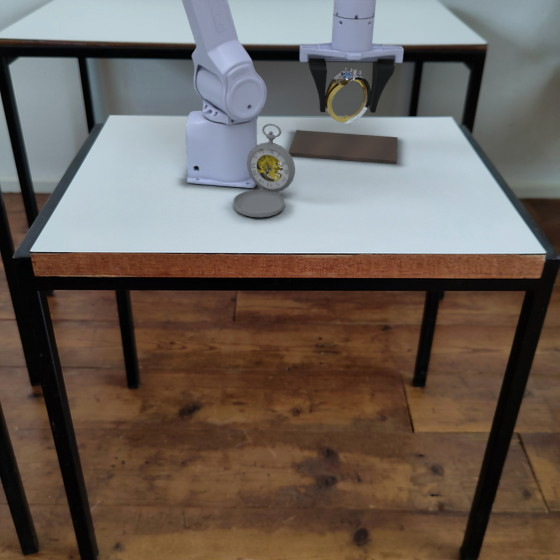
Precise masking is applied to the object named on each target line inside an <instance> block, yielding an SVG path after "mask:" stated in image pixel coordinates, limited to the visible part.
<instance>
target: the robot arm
mask: <svg viewBox="0 0 560 560" xmlns="http://www.w3.org/2000/svg"><path fill="white" fill-rule="evenodd" d="M181 2H182V5H183V8H184V12H185V14H186V18H187V21H188V25H189V27H190V28H189V29H190V31H191V35H192V37H193V40H194V44H195V46H196V47H195V48H194V51H193V52H192V54H191V59H192V63H193V68H194V72H193V79H192V80H193V81H192V82H193V88H194V91H195V93H196V94H197V95H198V96H199V98H201V99H202V110H192V111H190V112H189V113H188V116H187V119H186V125H185V151H186V165H187V166H186V167H187V178H186V182H187V183H189V184H195V185H196V184H198V185H210V186H222V187H235V188H246V189H254V188H255V187H256V186H257V184H256V183H255V182H254V181H253V179H252V178H251V177H250V174H249V172H248V169H247V158H248V155H249V153H250V151H251V150H252V149H253V148H254V147H255V146H257V145H258V119H259V114H260V113H261V111H262V110H263V108H264V106H265V104H266V101H267V95H268V89H267V85H266V82H265V81H264V80H263V78H262V77H261V76H260V75H259V74H258V73H257V71H256V69H255V67H254V63H253V59H252V58H251V57H250V55H249V53H248V52H247V50H246V49H245V47H244V46H243V45H242V43H241V41H240V40H239V36H238V33H237V29H236V26H235V22H234V19H233V15H232V11H231V8H230V4H229V0H181ZM376 6H377V0H333V10H332V28H331V42H324V43H323V42H322V43H312V44H299V62H300V63H307V64H308V68H309V72H310V74H311V76H312V79H313V82H314V84H315V88H316V90H317V94H318V95H317V96H318V102H319V103H318V104H319V112H320V113H326V110H327V109H326V98H325V96H326V91H327V77H328V76H327V75H328V68H327V62H372V74H371V76H372V77H371V86H370V89H371V100H370V104H369V106H368V109H369V111H370V113H372V114H375V113H376V111H377V107H378V104H379V101H380V99H381V96H382V94H383V91H384V89H385V88H386V86H387V84H388V83H389V81H390V79H391V78H392V77H393V75H394V73H395V68H396V66H395V64H403V60H404V51H405V49H404V48H403V45H392V44H382V43H373V38H374V27H375V17H376ZM262 168H263V167H262Z"/></svg>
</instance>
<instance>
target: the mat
mask: <svg viewBox="0 0 560 560" xmlns="http://www.w3.org/2000/svg"><path fill="white" fill-rule="evenodd" d="M288 153H289V154H290V155H291V157H297V158H298V157H300V158H311V159H312V158H314V159H325V160H341V161H353V162H364V163H365V162H366V163H379V164H393V165H397V164H398V163H397V162H398V137H397V136H385V135H370V134H359V133H356V134H355V133H346V132H345V133H343V132H329V131H318V130H317V131H315V130H301V129H296V130H295V133H294V136H293V138H292V142H291V144H290V148H289V150H288Z"/></svg>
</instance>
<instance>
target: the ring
mask: <svg viewBox="0 0 560 560" xmlns="http://www.w3.org/2000/svg"><path fill="white" fill-rule="evenodd" d="M357 72H358V73H357ZM361 75H362V70H359V71H358V69H357V68H356V69H353V68H352V67H351V68H350V70H349V71H348V68H347V67H344V70H342V71H340V73H338V74H337V75H336V76H334V78H332V80H331V81H330V82H329V84H328V86H327V88H326V91H325V98H326V109H325V110H326V112H327V113H328V114H329V116H330V117H331V118H332V119H333V120H335V121H336V122H339V123H343V124H345V125H349V124H350V123H353V122H355V121H357V120H358V119H360V118H361V117H362V116H363V115H364V114H365V113H366V112H367V110H368V109H369V104H370V100H371V86H370V83H369V81H368V80H367V79H366V78H364V77H363V76H361ZM341 79H342V80H341ZM352 81H353V82H355V83H357V84H358V85H360V87H361V89H362V91H363V100H362V104H361V106H360V108H359V109H358V110H357V111H356V112H355V113H354V114H352V115H351V114H350V115H348V114H345V115H343V116H339V115H337V114H335V112H334V110H333V105H332V104H333V100H334V97H335V95H336V94H337V92H338V91H340V90H341V89H342V88H343V87H345V86H346V85H348V84H349V83H350V82H352Z"/></svg>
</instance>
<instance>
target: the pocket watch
mask: <svg viewBox="0 0 560 560" xmlns="http://www.w3.org/2000/svg"><path fill="white" fill-rule="evenodd" d="M269 126H271V127H274V128H276V129H277V130H278V133H277V134H276V135H275V134H274V132H273V131H272V130H269V132H268V133H266V132H265V131H266V130H265V129H266V128H267V127H269ZM261 131H262V133H263V135H265V137H266V139H268V142H267V141H266V142H261V143H259V144H257V146H255V147H254V148H253V149H252V150H251V151H250V153H249V155H248V158H247V169H248V172H249V174H250V177H251V178H252V179H253V181H254V182H255V183H256V186H258V187H259V188H260V189H249V190H245V191H243V192H240V193H238V194H237V195H235V196H234V198H233V200H232V205H233V208H234V209H235V210H236V212H238V213H239V214H241V215H243V216H247V217H252V218H266V217H273V216H275V215H277V214H279V213H281V212H282V211H283V210H284V208H285V205H286V201H285V198H284V197H283V196H282V195H281V194H279V192H282V191H284V190H286V189H287V188H289V186H290V185H291V184H292V183H293V182H294V178H295V175H296V165H295V161H294V159H293V156H291V155H290V154H289V150H287V149H286V148H285V147H284V146H282V145H280V144H278V143H276V142H274V140H275V139H276V138H279V137H280V136H281V135H282V130H281V128H280V127H279V126H278V125H277V124H273V123H267V124H265V125H263V126H262V128H261ZM262 167H263V168H262ZM281 172H282V173H281Z"/></svg>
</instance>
